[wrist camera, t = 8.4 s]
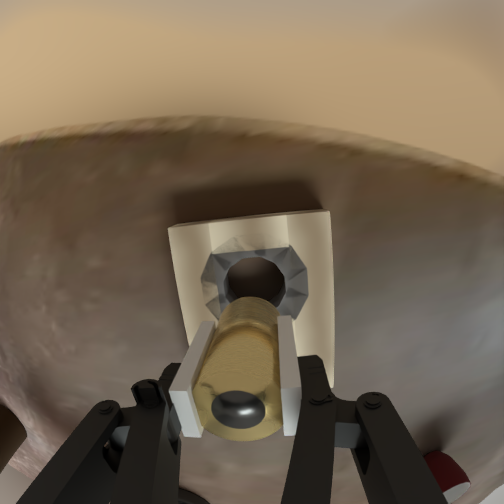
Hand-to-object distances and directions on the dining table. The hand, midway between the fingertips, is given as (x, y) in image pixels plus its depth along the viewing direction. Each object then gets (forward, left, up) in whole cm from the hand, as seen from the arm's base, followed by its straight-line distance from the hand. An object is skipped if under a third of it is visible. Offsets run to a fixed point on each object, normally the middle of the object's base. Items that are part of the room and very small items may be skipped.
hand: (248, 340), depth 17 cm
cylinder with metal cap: (0, 0, -2) cm, 2 cm away
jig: (0, -3, -13) cm, 13 cm away
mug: (+25, -36, -13) cm, 46 cm away
